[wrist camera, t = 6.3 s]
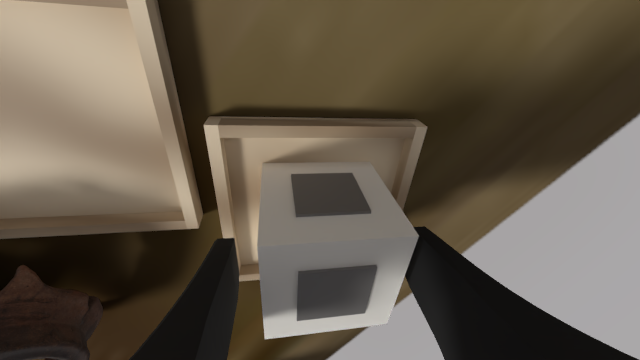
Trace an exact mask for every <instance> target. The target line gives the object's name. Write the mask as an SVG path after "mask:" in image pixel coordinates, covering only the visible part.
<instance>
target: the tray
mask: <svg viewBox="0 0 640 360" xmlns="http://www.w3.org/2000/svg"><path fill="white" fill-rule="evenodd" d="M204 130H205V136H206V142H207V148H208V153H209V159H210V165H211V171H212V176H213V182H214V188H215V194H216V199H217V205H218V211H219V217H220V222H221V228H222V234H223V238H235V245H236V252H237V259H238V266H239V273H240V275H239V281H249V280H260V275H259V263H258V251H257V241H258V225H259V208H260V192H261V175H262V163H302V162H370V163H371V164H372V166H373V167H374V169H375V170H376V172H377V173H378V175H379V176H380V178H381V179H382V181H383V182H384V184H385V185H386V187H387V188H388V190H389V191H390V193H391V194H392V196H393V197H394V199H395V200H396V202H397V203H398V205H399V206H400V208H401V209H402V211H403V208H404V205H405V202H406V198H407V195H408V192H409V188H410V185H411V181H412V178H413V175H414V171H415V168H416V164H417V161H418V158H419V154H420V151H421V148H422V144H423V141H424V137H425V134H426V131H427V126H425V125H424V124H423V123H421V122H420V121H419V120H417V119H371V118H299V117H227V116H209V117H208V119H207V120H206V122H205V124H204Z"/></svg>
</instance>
